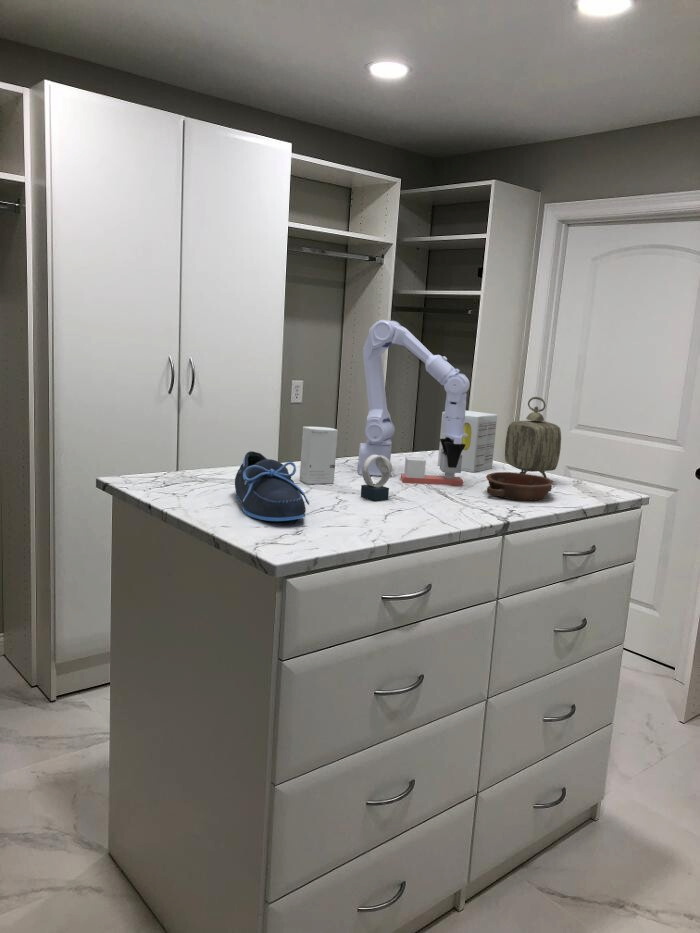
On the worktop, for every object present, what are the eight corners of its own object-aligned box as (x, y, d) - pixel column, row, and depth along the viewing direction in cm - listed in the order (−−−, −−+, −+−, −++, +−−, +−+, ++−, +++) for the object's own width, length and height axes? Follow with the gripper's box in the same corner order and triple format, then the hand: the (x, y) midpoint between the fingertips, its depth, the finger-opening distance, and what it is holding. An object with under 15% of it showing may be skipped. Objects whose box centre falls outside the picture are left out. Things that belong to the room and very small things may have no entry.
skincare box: (306, 484, 201) (309, 429, 199) (298, 479, 207) (301, 425, 204) (335, 483, 205) (338, 429, 202) (327, 479, 210) (330, 425, 207)
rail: (402, 482, 212) (404, 459, 211) (400, 479, 217) (402, 456, 216) (462, 485, 213) (464, 462, 212) (459, 481, 218) (461, 459, 217)
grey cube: (443, 472, 212) (444, 454, 211) (439, 469, 217) (440, 451, 216) (460, 473, 212) (462, 455, 212) (456, 469, 217) (458, 452, 216)
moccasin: (259, 530, 155) (261, 474, 153) (208, 493, 185) (210, 445, 183) (321, 526, 161) (324, 471, 159) (262, 490, 191) (264, 444, 189)
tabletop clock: (556, 485, 222) (566, 400, 218) (533, 487, 218) (543, 399, 213) (521, 475, 234) (530, 394, 230) (499, 476, 230) (507, 394, 225)
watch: (393, 499, 190) (397, 456, 188) (369, 502, 185) (372, 458, 183) (378, 494, 195) (381, 452, 193) (354, 497, 189) (357, 454, 188)
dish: (465, 492, 206) (466, 473, 205) (523, 486, 218) (524, 469, 217) (511, 506, 192) (513, 487, 191) (570, 500, 204) (572, 482, 203)
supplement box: (436, 466, 241) (440, 411, 238) (456, 462, 252) (461, 409, 248) (473, 473, 233) (478, 416, 230) (493, 468, 244) (498, 414, 241)
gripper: (474, 421, 205) (470, 471, 208) (463, 415, 219) (459, 461, 222) (448, 420, 205) (444, 469, 207) (439, 414, 219) (435, 460, 221)
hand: (450, 465), depth 214 cm, fingers closed on grey cube, 5 cm apart
